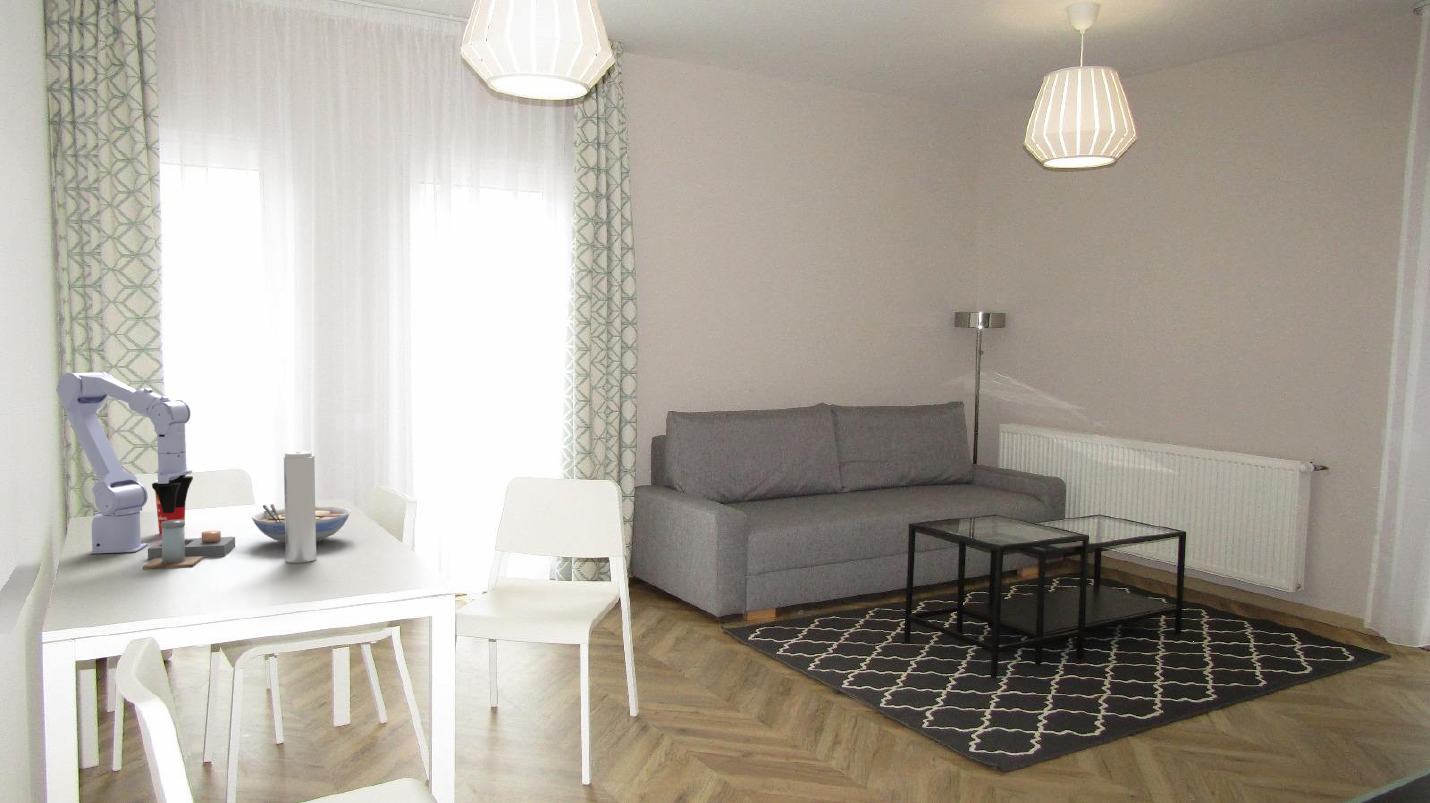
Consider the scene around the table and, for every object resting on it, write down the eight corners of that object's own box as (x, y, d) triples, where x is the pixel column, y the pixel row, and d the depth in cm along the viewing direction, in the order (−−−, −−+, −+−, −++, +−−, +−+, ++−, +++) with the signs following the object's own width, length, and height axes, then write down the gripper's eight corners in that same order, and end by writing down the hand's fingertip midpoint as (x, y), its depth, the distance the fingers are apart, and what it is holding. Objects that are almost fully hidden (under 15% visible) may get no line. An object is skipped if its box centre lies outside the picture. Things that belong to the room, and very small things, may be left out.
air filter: (304, 564, 210) (302, 454, 209) (279, 562, 212) (277, 453, 210) (322, 557, 217) (320, 451, 215) (297, 556, 218) (295, 450, 216)
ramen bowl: (359, 547, 228) (359, 514, 227) (255, 557, 216) (254, 522, 216) (344, 529, 249) (343, 499, 249) (249, 537, 238) (248, 506, 238)
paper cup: (156, 531, 245) (155, 478, 244) (189, 529, 248) (188, 477, 247) (152, 537, 237) (151, 482, 237) (187, 534, 241) (185, 481, 240)
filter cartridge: (158, 563, 207) (158, 523, 206) (165, 558, 211) (165, 519, 211) (181, 563, 208) (181, 523, 207) (188, 558, 212) (187, 519, 212)
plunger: (199, 542, 219) (199, 534, 219) (204, 539, 223) (204, 530, 223) (218, 541, 220) (218, 533, 220) (222, 538, 224) (222, 530, 224)
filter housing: (148, 559, 214) (147, 548, 213) (162, 549, 223) (162, 539, 223) (224, 555, 218) (224, 545, 217) (235, 546, 227) (235, 536, 227)
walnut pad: (142, 569, 204) (142, 566, 204) (154, 560, 212) (154, 558, 212) (192, 566, 207) (192, 564, 207) (203, 558, 215) (203, 556, 215)
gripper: (181, 455, 212) (183, 514, 213) (199, 448, 226) (201, 504, 227) (146, 456, 210) (148, 516, 211) (167, 449, 224) (169, 505, 225)
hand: (174, 510), depth 219 cm, fingers open, 7 cm apart
